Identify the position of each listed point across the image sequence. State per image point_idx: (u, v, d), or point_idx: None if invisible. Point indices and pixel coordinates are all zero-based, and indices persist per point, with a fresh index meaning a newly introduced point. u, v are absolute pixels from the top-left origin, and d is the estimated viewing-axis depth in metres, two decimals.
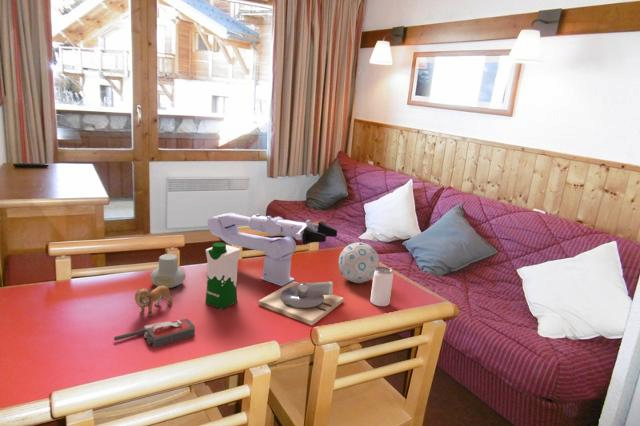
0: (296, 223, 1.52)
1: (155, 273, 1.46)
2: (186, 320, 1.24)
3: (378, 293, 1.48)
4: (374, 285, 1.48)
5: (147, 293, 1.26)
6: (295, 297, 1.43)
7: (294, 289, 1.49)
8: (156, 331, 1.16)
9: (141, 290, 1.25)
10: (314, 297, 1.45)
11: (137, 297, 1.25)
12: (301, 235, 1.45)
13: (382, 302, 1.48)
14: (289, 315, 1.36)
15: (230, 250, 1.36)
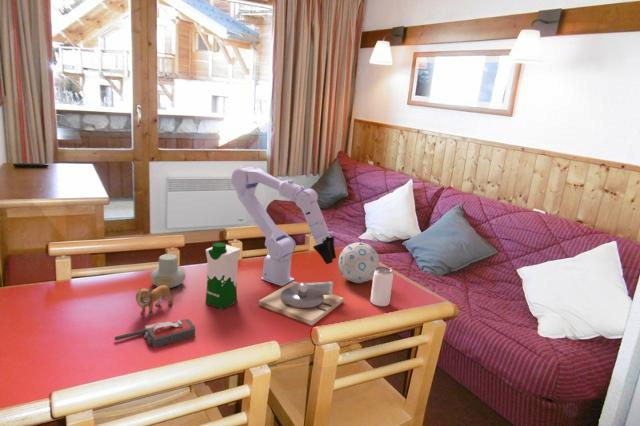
0: (323, 222, 1.48)
1: (155, 273, 1.46)
2: (187, 320, 1.24)
3: (378, 293, 1.48)
4: (374, 285, 1.48)
5: (148, 293, 1.27)
6: (295, 297, 1.43)
7: (294, 289, 1.49)
8: (156, 332, 1.16)
9: (142, 290, 1.26)
10: (314, 297, 1.45)
11: (138, 297, 1.25)
12: (321, 243, 1.43)
13: (382, 302, 1.48)
14: (289, 315, 1.36)
15: (230, 250, 1.36)
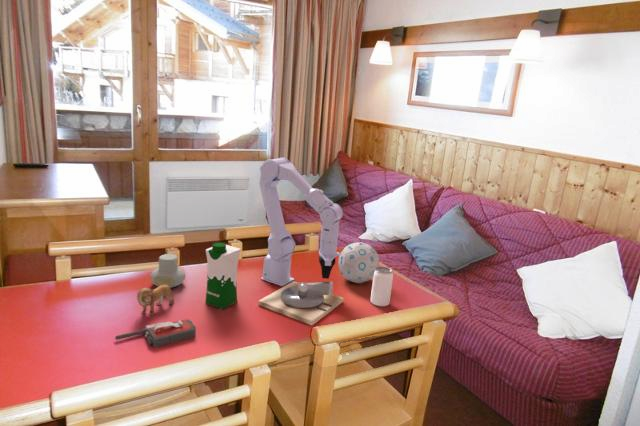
0: (336, 243, 1.49)
1: (155, 273, 1.46)
2: (187, 321, 1.24)
3: (378, 293, 1.48)
4: (374, 285, 1.48)
5: (149, 292, 1.27)
6: (295, 297, 1.43)
7: (294, 289, 1.49)
8: (157, 331, 1.16)
9: (143, 289, 1.26)
10: (314, 297, 1.45)
11: (139, 296, 1.25)
12: None
13: (382, 302, 1.48)
14: (289, 315, 1.36)
15: (230, 250, 1.36)
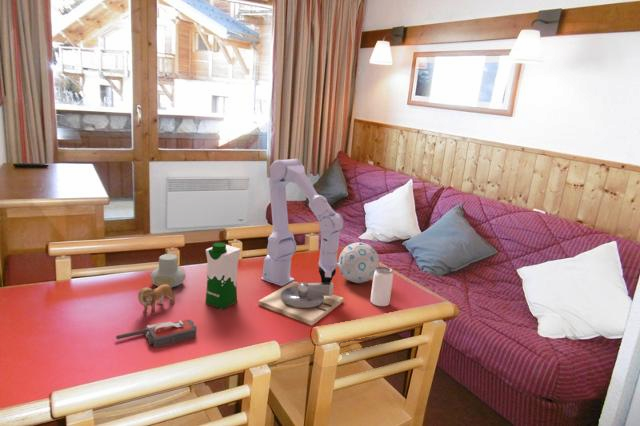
0: (336, 254, 1.45)
1: (155, 273, 1.46)
2: (188, 321, 1.23)
3: (378, 293, 1.48)
4: (374, 285, 1.48)
5: (150, 292, 1.27)
6: (295, 297, 1.43)
7: (295, 289, 1.49)
8: (157, 331, 1.16)
9: (144, 289, 1.26)
10: (314, 297, 1.44)
11: (140, 296, 1.26)
12: None
13: (382, 302, 1.48)
14: (289, 315, 1.36)
15: (230, 250, 1.36)
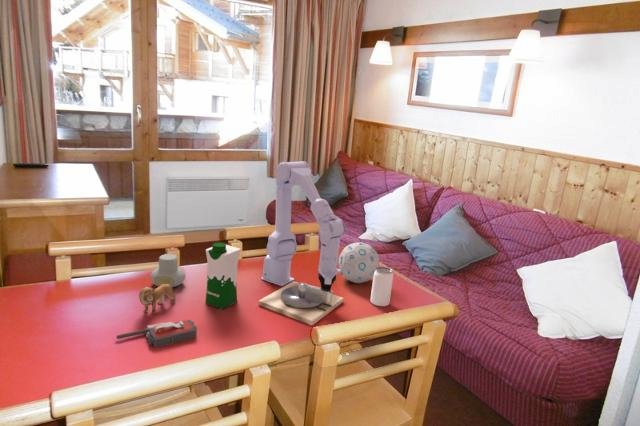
0: (337, 260, 1.40)
1: (155, 273, 1.46)
2: (189, 321, 1.23)
3: (378, 293, 1.48)
4: (374, 285, 1.48)
5: (151, 291, 1.28)
6: (293, 294, 1.45)
7: None
8: (157, 332, 1.16)
9: (145, 288, 1.27)
10: (309, 300, 1.42)
11: (141, 295, 1.26)
12: None
13: (382, 302, 1.48)
14: (289, 315, 1.36)
15: (230, 250, 1.36)
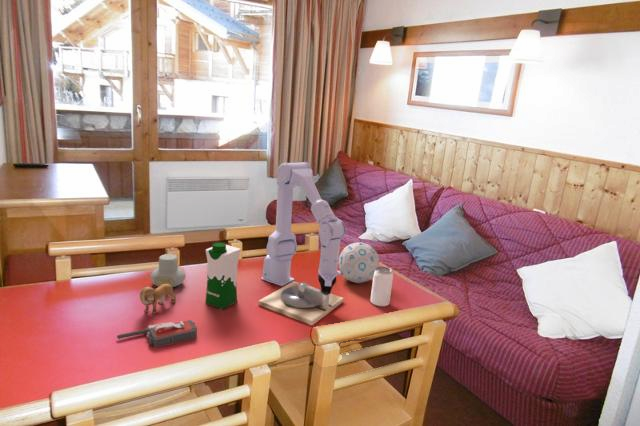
0: (337, 261, 1.39)
1: (155, 273, 1.46)
2: (189, 322, 1.23)
3: (378, 293, 1.48)
4: (374, 285, 1.48)
5: (152, 291, 1.28)
6: (294, 293, 1.46)
7: None
8: (158, 332, 1.16)
9: (146, 288, 1.27)
10: (307, 301, 1.42)
11: (142, 295, 1.26)
12: None
13: (382, 302, 1.48)
14: (289, 315, 1.36)
15: (230, 250, 1.36)
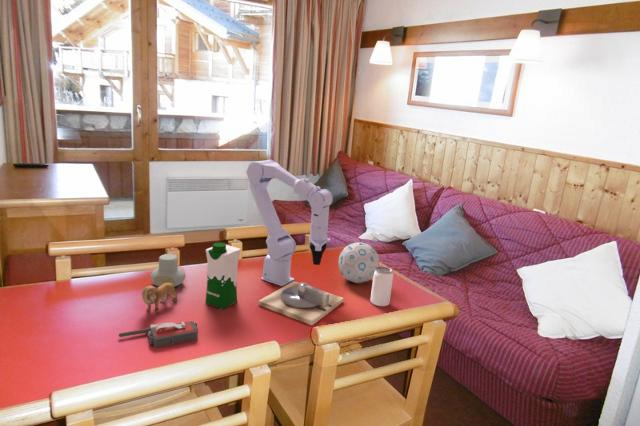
0: (326, 229, 1.48)
1: (155, 273, 1.46)
2: (191, 322, 1.23)
3: (378, 293, 1.48)
4: (374, 285, 1.48)
5: (154, 290, 1.29)
6: (294, 293, 1.46)
7: None
8: (158, 331, 1.16)
9: (148, 287, 1.28)
10: (306, 301, 1.42)
11: (144, 294, 1.27)
12: None
13: (382, 302, 1.48)
14: (289, 315, 1.36)
15: (230, 250, 1.36)
